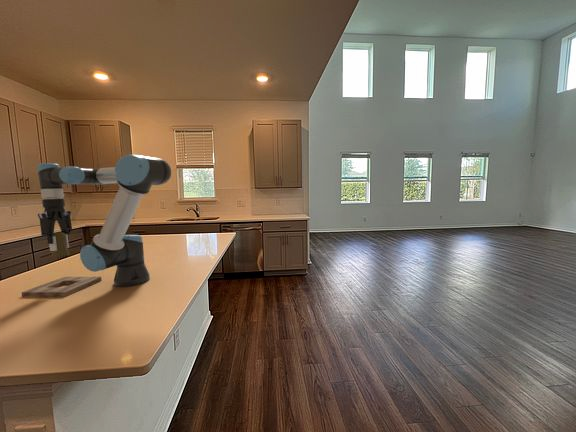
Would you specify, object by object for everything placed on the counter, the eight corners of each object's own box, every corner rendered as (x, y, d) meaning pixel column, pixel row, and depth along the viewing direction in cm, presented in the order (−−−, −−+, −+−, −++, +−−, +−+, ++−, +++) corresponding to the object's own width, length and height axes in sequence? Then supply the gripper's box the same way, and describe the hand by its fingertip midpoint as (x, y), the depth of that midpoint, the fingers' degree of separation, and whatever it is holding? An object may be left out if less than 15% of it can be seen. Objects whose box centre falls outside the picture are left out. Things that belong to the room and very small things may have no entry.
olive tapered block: (59, 257, 118) (55, 233, 117) (48, 257, 119) (45, 233, 118) (72, 254, 124) (69, 231, 123) (62, 254, 125) (59, 231, 124)
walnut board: (101, 280, 132) (101, 276, 132) (64, 296, 112) (64, 292, 112) (64, 280, 134) (64, 276, 134) (21, 296, 114) (21, 292, 114)
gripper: (64, 198, 128) (70, 245, 131) (23, 199, 110) (31, 254, 113) (78, 197, 128) (84, 244, 130) (40, 199, 110) (47, 253, 112)
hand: (59, 249), depth 121 cm, fingers closed on olive tapered block, 5 cm apart
